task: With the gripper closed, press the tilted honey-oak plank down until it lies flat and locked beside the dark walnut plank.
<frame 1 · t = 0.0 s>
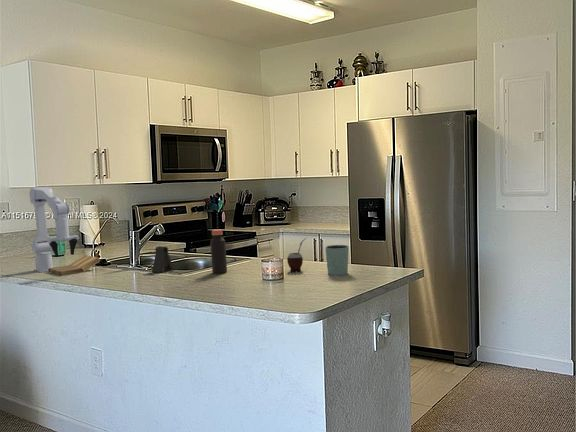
hand: (64, 255, 277), 10 cm above the countertop, tool pointing down, fingers open, 7 cm apart
bottle: (219, 272, 266), on the countertop
oak plank: (84, 263, 296), point 3 cm above the countertop, hinge at 25.0°
door stopper: (163, 271, 278), on the countertop
grey-green cup: (338, 274, 247), on the countertop
walnut plank: (64, 272, 289), on the countertop
mate gourd: (296, 271, 259), on the countertop
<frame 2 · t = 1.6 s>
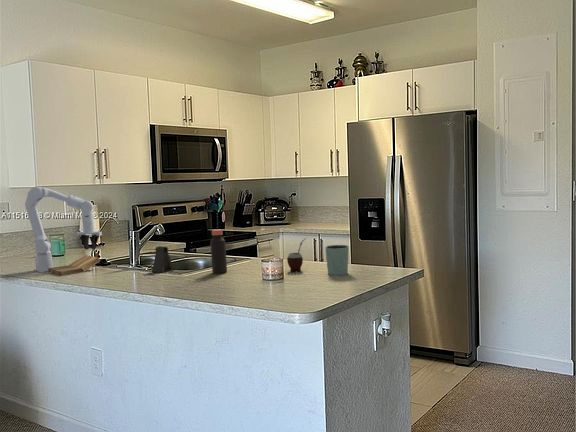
hand: (90, 249, 302), 9 cm above the countertop, tool pointing down, fingers open, 4 cm apart
nothing on the countertop moved.
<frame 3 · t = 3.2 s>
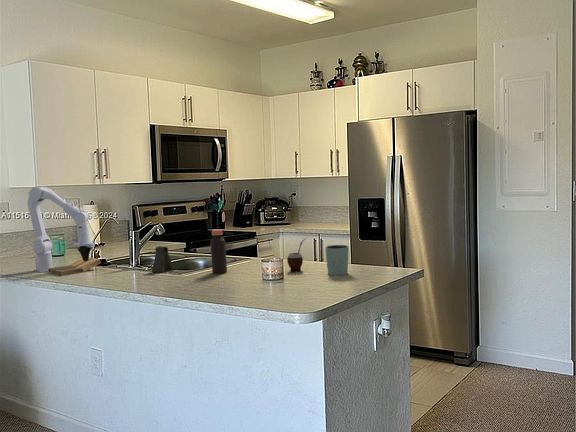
hand: (85, 260, 297), 4 cm above the countertop, tool pointing down, fingers closed, pressing on oak plank
oak plank: (84, 264, 296), point 3 cm above the countertop, hinge at 18.8°, touching gripper
everything else where it was.
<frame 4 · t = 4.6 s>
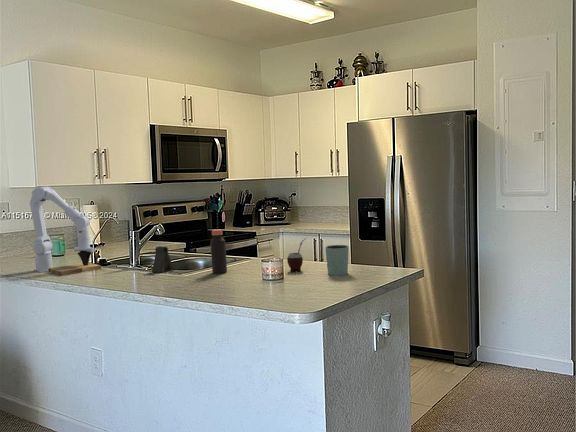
hand: (85, 265, 297), 2 cm above the countertop, tool pointing down, fingers closed, pressing on oak plank
oak plank: (84, 267, 296), point 1 cm above the countertop, hinge at -0.4°, touching gripper
everything else where it was.
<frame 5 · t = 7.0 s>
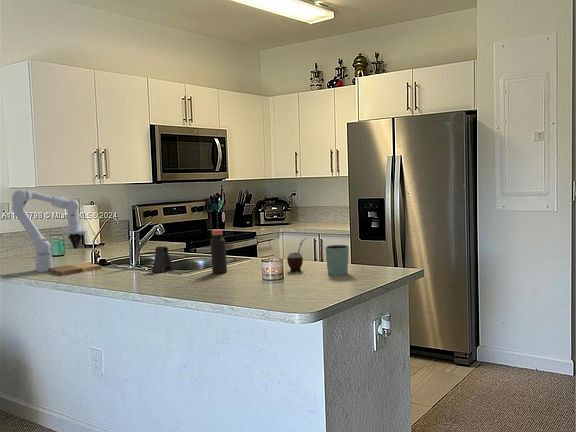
hand: (76, 248, 301), 10 cm above the countertop, tool pointing down, fingers closed
oak plank: (84, 267, 296), point 1 cm above the countertop, hinge at -0.3°
everything else where it was.
at the end: oak plank at +0° (first picture: +25°); the gripper is holding nothing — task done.
